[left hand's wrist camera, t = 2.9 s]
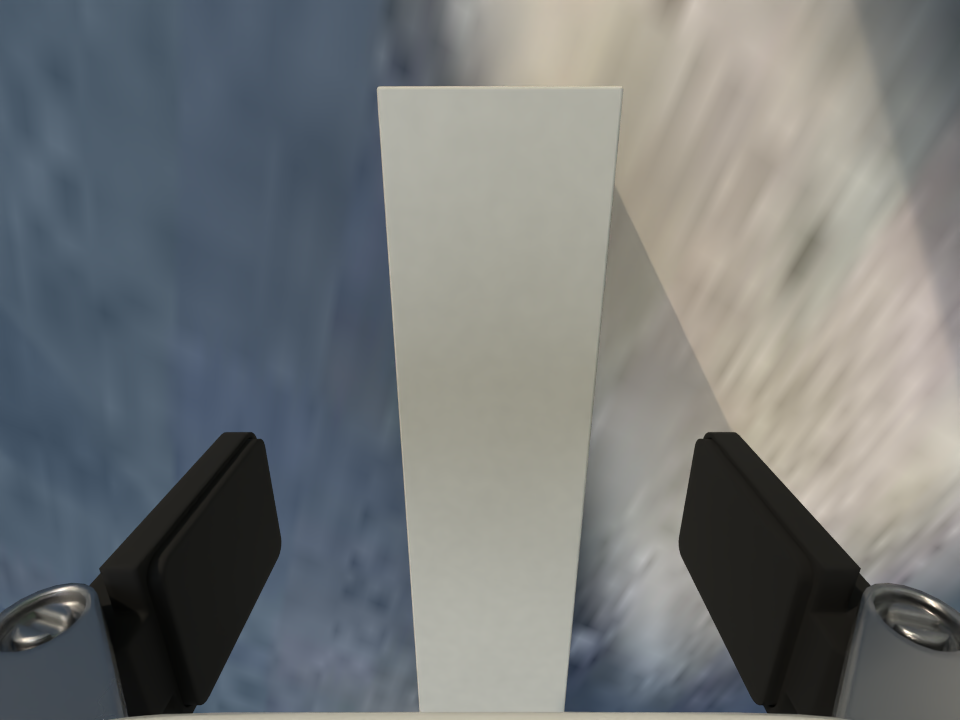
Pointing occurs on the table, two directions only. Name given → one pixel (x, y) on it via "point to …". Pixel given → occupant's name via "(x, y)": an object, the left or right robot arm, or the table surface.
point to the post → (496, 371)
